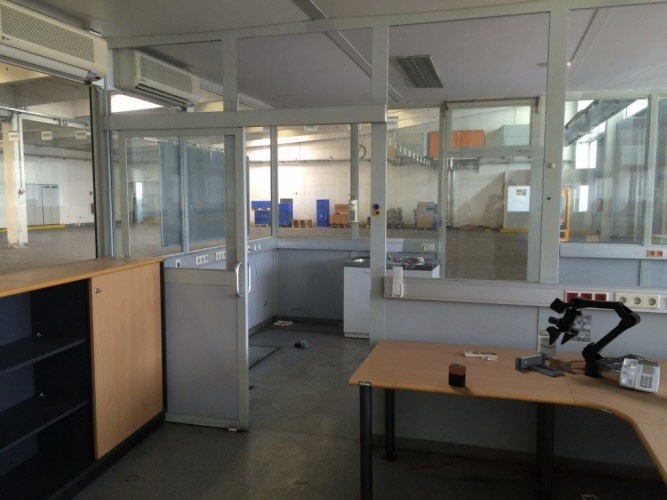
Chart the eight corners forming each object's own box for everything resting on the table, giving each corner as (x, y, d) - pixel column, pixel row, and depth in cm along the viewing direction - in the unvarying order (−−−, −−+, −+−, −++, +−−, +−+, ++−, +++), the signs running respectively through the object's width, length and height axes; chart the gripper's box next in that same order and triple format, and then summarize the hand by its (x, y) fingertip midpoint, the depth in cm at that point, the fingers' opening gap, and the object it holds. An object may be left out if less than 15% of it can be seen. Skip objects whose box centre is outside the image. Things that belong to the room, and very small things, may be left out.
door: (539, 363, 265) (539, 354, 265) (543, 364, 263) (544, 355, 262) (518, 367, 257) (519, 358, 257) (522, 369, 255) (523, 359, 255)
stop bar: (571, 370, 255) (571, 361, 254) (566, 372, 253) (566, 362, 252) (553, 365, 263) (554, 356, 263) (549, 366, 262) (549, 357, 261)
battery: (452, 382, 236) (452, 361, 236) (465, 385, 232) (466, 364, 231) (447, 384, 233) (448, 363, 232) (461, 387, 229) (462, 366, 228)
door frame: (542, 363, 266) (542, 352, 266) (545, 364, 265) (545, 353, 264) (515, 369, 257) (515, 357, 256) (518, 370, 255) (518, 358, 254)
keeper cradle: (563, 374, 249) (563, 371, 248) (552, 376, 245) (552, 373, 245) (538, 366, 261) (538, 363, 261) (527, 368, 257) (528, 365, 257)
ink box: (539, 358, 276) (540, 331, 275) (537, 355, 281) (537, 329, 280) (555, 358, 275) (557, 332, 274) (552, 356, 280) (553, 329, 279)
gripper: (567, 310, 266) (555, 335, 271) (544, 310, 257) (532, 336, 262) (585, 322, 257) (571, 347, 263) (561, 322, 248) (548, 348, 253)
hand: (555, 344), depth 260 cm, fingers open, 9 cm apart
